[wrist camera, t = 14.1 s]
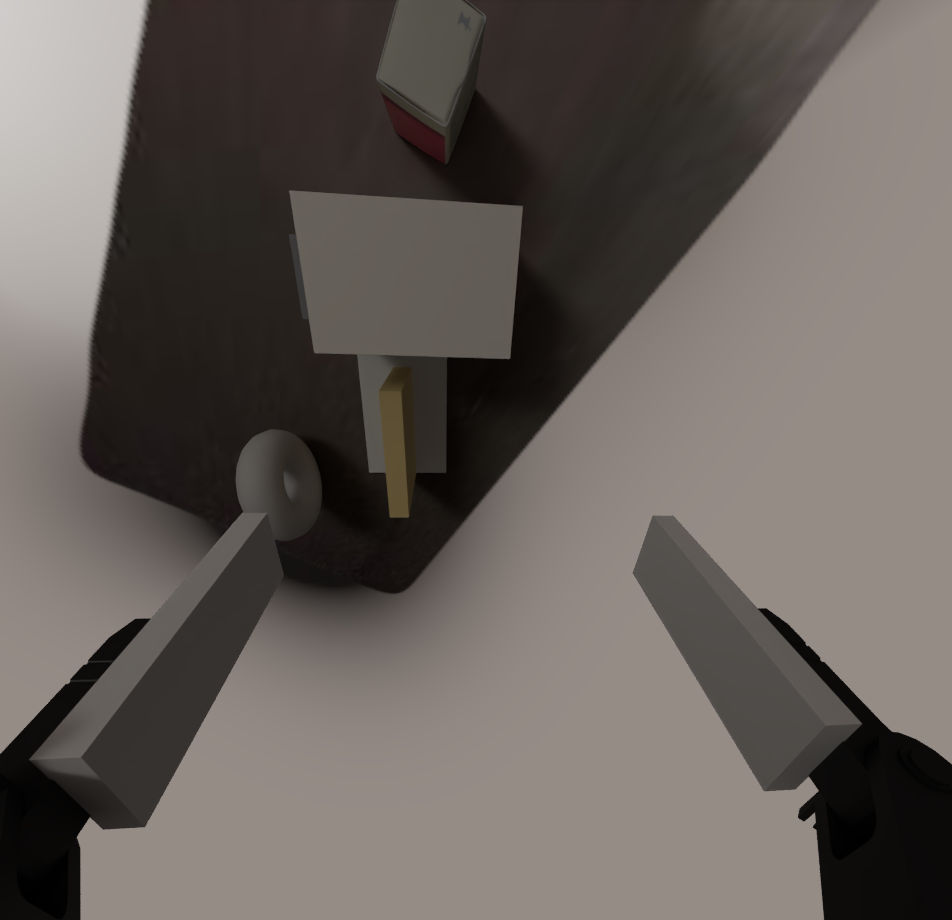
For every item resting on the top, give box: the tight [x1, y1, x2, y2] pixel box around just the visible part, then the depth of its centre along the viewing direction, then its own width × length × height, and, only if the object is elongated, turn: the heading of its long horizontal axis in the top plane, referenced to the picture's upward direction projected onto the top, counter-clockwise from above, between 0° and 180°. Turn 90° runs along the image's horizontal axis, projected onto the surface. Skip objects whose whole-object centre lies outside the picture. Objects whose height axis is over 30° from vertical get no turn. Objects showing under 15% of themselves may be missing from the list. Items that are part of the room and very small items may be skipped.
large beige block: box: [289, 191, 523, 359], centre depth 25 cm, size 8×13×11 cm, turn 87°
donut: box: [236, 430, 322, 541], centre depth 32 cm, size 10×4×10 cm, turn 9°
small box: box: [376, 0, 486, 164], centre depth 22 cm, size 5×4×8 cm
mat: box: [357, 354, 447, 473], centre depth 35 cm, size 12×8×1 cm, turn 178°
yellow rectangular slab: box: [379, 367, 416, 518], centre depth 32 cm, size 2×11×8 cm, turn 178°
